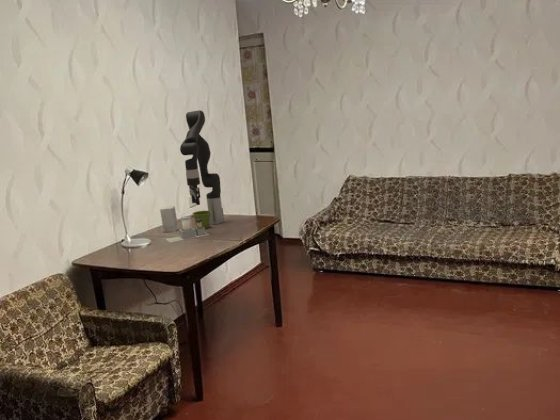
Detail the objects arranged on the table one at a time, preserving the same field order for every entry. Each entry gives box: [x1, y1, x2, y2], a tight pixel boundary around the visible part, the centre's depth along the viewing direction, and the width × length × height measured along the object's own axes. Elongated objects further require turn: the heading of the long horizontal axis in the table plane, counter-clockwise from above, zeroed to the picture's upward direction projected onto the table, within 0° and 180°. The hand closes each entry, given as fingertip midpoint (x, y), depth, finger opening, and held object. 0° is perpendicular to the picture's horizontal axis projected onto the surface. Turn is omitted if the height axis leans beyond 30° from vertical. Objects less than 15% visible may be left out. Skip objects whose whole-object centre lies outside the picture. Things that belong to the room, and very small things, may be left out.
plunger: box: [194, 219, 202, 229], centre depth 316 cm, size 4×4×7 cm
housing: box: [165, 226, 210, 243], centre depth 314 cm, size 24×10×6 cm, turn 115°
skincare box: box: [159, 206, 179, 234], centre depth 338 cm, size 8×7×16 cm
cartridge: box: [181, 215, 191, 231], centre depth 313 cm, size 5×5×12 cm
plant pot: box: [192, 210, 211, 229], centre depth 334 cm, size 12×12×11 cm
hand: (196, 203), depth 313 cm, fingers open, 8 cm apart
